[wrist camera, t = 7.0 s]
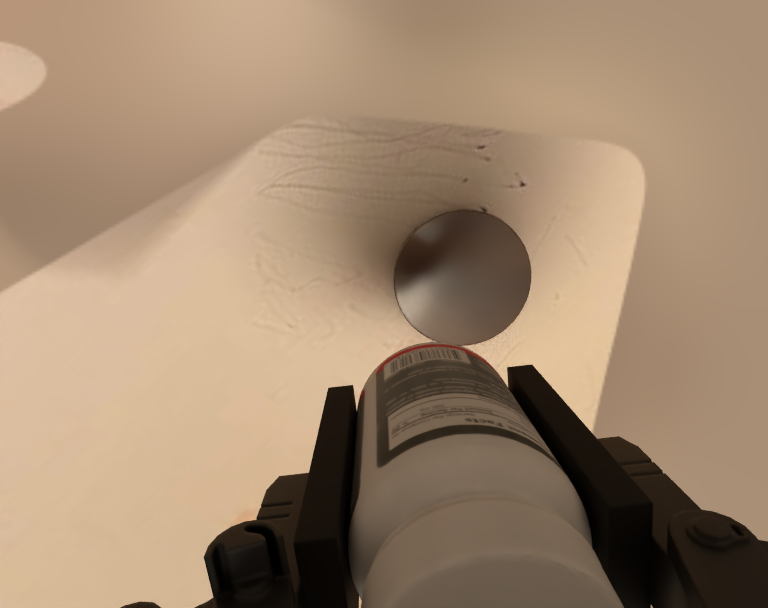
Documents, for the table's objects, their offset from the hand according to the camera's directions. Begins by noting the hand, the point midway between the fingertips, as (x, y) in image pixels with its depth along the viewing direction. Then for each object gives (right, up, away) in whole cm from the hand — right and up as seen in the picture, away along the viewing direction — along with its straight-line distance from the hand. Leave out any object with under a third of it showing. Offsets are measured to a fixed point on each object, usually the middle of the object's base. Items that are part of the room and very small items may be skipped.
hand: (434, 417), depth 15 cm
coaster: (+3, +5, +13) cm, 15 cm away
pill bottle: (0, 0, 0) cm, 1 cm away
